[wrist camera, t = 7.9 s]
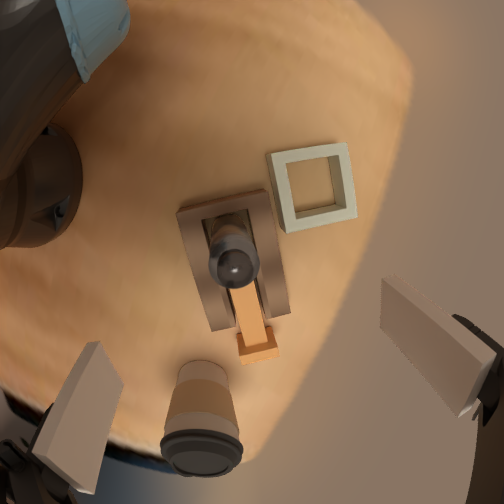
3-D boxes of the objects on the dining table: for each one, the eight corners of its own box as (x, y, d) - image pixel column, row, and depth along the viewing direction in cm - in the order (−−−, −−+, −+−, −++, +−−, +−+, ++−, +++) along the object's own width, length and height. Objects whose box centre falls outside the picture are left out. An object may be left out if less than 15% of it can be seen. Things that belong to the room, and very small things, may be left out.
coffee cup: (208, 343, 34) (208, 439, 20) (247, 383, 37) (262, 470, 22) (157, 371, 35) (140, 459, 20) (198, 406, 37) (197, 488, 23)
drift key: (217, 269, 31) (217, 285, 27) (256, 260, 31) (262, 275, 27) (239, 343, 34) (242, 365, 30) (272, 335, 34) (279, 356, 30)
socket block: (179, 208, 28) (175, 213, 26) (263, 188, 29) (267, 191, 26) (212, 318, 33) (211, 331, 30) (284, 300, 33) (290, 313, 30)
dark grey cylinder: (208, 217, 29) (201, 252, 18) (241, 209, 29) (256, 239, 18) (216, 249, 30) (215, 301, 19) (248, 241, 30) (267, 289, 19)
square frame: (265, 154, 28) (270, 153, 25) (335, 143, 28) (346, 142, 25) (280, 227, 30) (286, 233, 28) (346, 212, 31) (357, 217, 28)
